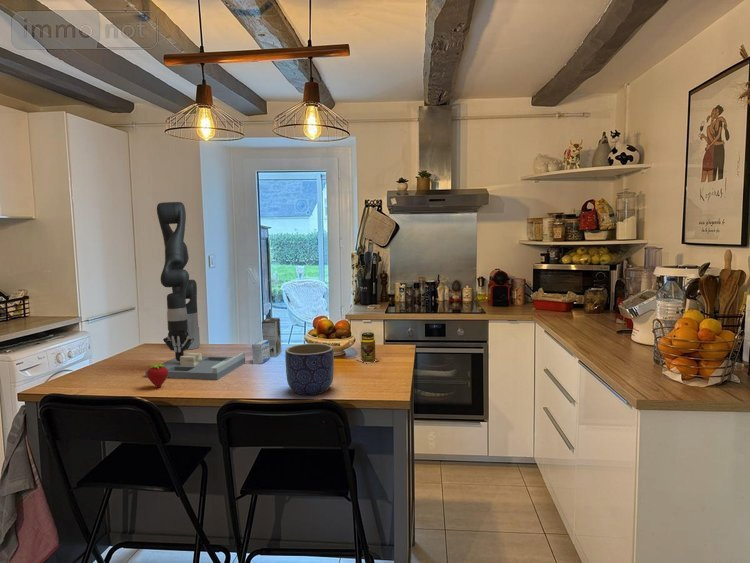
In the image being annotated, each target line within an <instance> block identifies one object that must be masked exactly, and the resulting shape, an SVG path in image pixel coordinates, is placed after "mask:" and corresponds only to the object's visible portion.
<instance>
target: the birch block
mask: <svg viewBox="0 0 750 563" xmlns="http://www.w3.org/2000/svg"><path fill="white" fill-rule="evenodd" d="M202 356H203V353H198V352H197V353H194V352H193V353H192V352H188V353H186V354H184V355H183V356H181V357H180V365H184V366H195V365H197V364H199V363H201V362H202Z"/></svg>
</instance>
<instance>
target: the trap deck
mask: <svg viewBox="0 0 750 563" xmlns="http://www.w3.org/2000/svg"><path fill="white" fill-rule="evenodd" d="M161 364H163V365H165V366H163V367H165V368H167V369H168V376H167V377H169V378H168V379H181V378H190V379H189V380H210V381H218V380H219V379H221V378H223V377H225V376H226V375H228V374H229V373H232V372H233V371H235V370H236V369H238V368H239V367H241V366H243V365H244V364H246V352H240V353H238V354H236V355H234V356H219V355H218V356H216V355H215V356H213V355H202V362H201V363H199V364H197V365H195V366H184V365H180V361H177V360H176V357H174V358H171V359H169V360H167V361H164V362H162V363H161ZM157 365H158V364H157ZM158 366H159V365H158ZM149 369H150V368H148V369H146V370H144V371H145V377H146V378H148V376H147V371H148V370H149Z"/></svg>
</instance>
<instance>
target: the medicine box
mask: <svg viewBox="0 0 750 563" xmlns="http://www.w3.org/2000/svg"><path fill="white" fill-rule="evenodd" d="M251 351H252V364H254V365H255V364H256V365H263V364H265V363H266V362H268V361H270V360H271V357H270V351H269V340H263V339H260V340H258V341H256V342H254V343H251Z"/></svg>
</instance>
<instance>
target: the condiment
mask: <svg viewBox="0 0 750 563" xmlns="http://www.w3.org/2000/svg"><path fill="white" fill-rule="evenodd" d="M360 356H361V358H360V359H361V360H362V361H363V362H373V363H375V362H374V361H375V359H376V340H375V334H374V332H362V333H361V339H360Z"/></svg>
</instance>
